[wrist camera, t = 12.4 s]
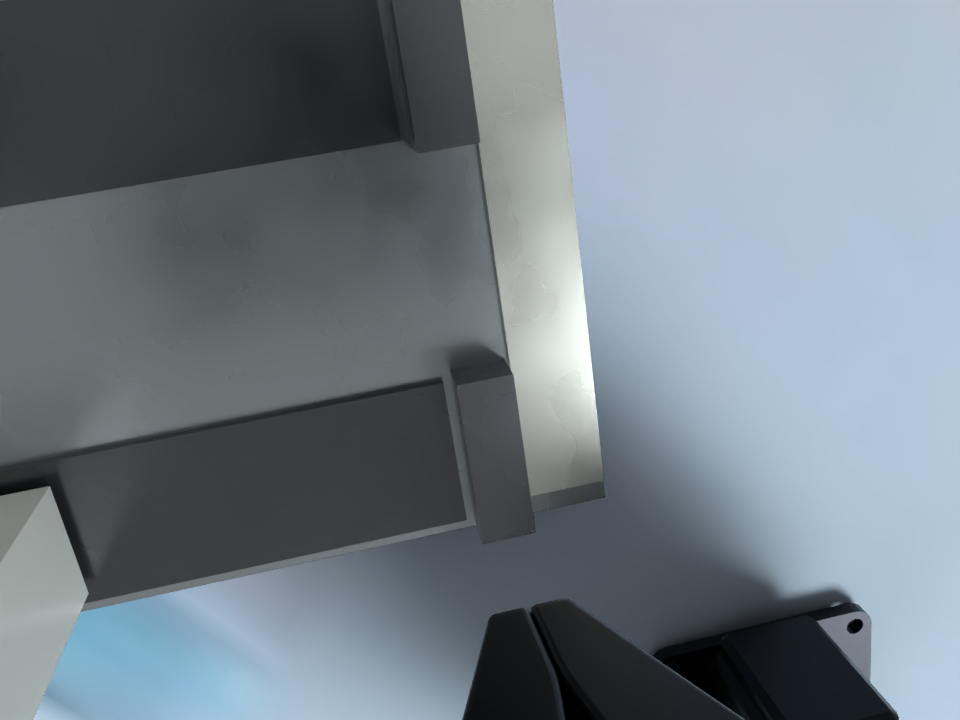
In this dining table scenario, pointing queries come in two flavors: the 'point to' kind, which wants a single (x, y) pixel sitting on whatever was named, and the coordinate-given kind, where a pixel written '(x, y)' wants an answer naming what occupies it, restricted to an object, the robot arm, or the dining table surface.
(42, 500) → the block
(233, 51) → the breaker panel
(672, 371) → the dining table surface
